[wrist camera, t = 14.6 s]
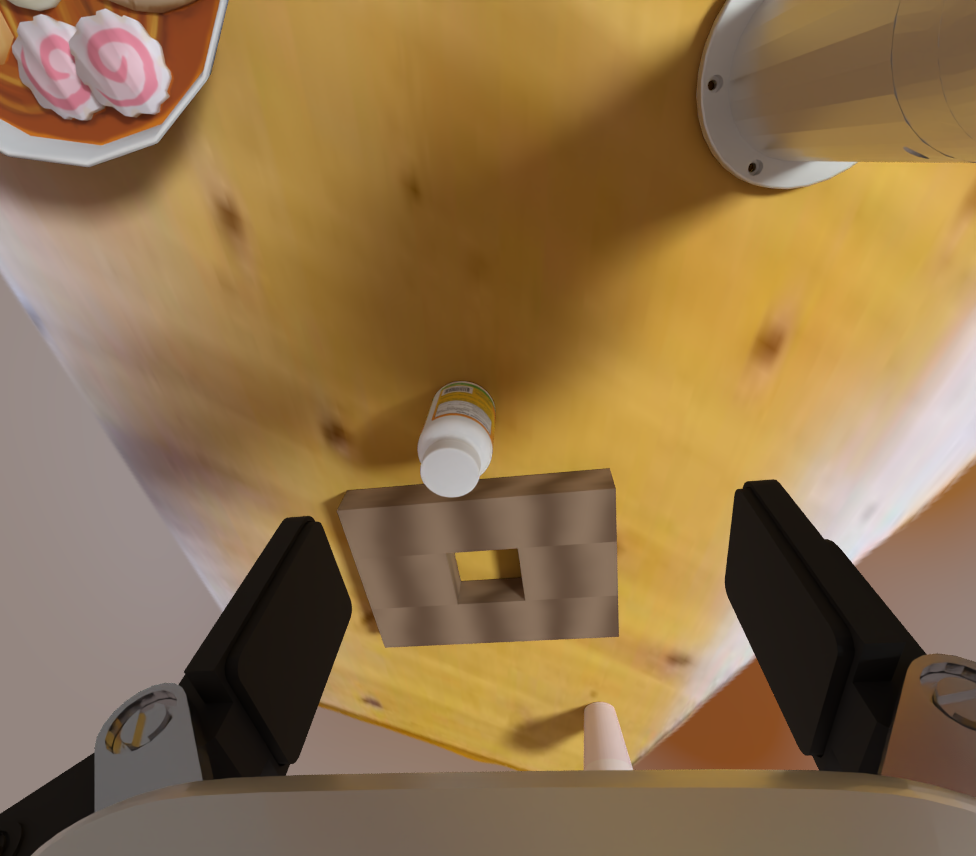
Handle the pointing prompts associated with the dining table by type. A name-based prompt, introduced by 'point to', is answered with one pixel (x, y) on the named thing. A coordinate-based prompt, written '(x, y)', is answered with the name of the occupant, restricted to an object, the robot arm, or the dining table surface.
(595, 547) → the pocket board
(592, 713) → the smoothie
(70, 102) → the ramen bowl
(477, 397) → the supplement bottle
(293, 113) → the dining table surface
